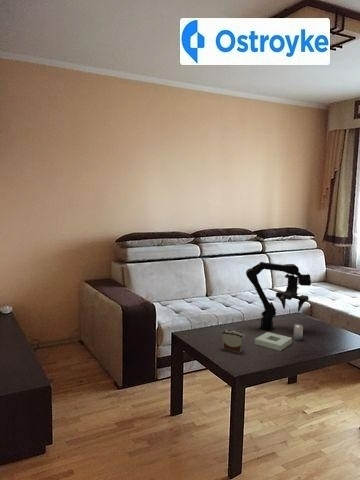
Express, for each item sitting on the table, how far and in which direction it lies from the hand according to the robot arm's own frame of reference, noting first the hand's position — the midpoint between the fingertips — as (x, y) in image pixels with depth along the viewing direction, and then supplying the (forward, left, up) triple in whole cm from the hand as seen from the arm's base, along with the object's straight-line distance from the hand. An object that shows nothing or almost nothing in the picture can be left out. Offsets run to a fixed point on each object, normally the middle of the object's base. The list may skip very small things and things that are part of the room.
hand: (291, 310), depth 241 cm
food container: (-10, -50, -12) cm, 52 cm away
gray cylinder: (+10, -13, -12) cm, 20 cm away
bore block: (+2, -29, -12) cm, 31 cm away
